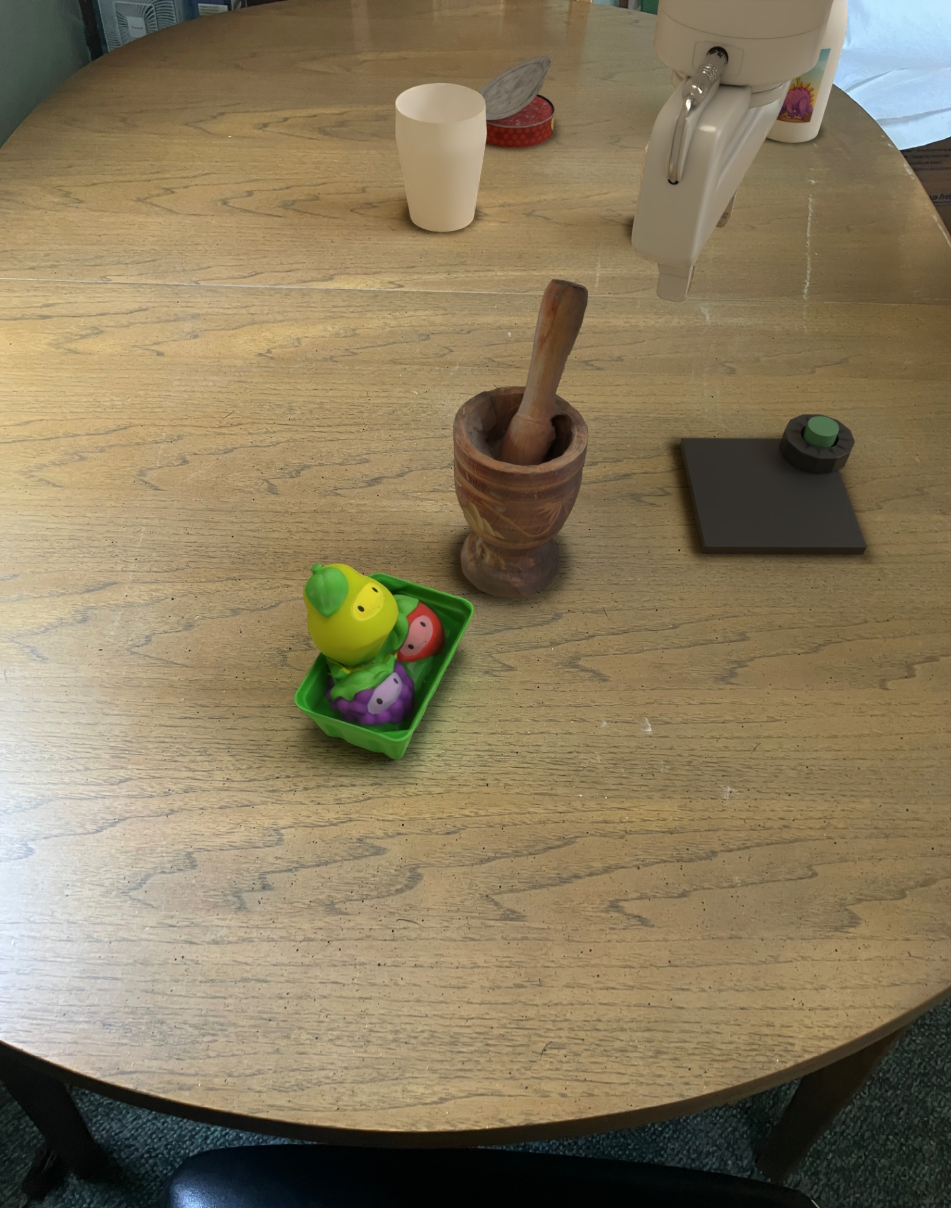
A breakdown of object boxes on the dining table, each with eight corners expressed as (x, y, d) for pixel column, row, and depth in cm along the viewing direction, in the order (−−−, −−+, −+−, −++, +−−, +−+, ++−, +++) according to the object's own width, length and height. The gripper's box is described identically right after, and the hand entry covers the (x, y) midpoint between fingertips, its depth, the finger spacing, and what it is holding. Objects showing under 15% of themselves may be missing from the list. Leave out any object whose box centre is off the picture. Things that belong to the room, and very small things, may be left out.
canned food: (530, 190, 114) (521, 133, 104) (459, 159, 116) (445, 100, 107) (577, 115, 115) (573, 51, 105) (506, 85, 117) (496, 21, 108)
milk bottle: (779, 112, 118) (827, -79, 102) (830, 135, 114) (888, -60, 99) (738, 130, 115) (782, -65, 99) (789, 154, 111) (843, -44, 95)
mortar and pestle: (462, 490, 75) (464, 259, 59) (572, 498, 74) (602, 268, 59) (447, 603, 68) (445, 374, 52) (568, 612, 67) (602, 385, 52)
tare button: (829, 429, 76) (835, 416, 75) (837, 449, 75) (842, 436, 74) (800, 428, 76) (804, 415, 75) (806, 449, 75) (811, 436, 74)
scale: (833, 442, 79) (844, 414, 77) (876, 559, 71) (890, 532, 68) (676, 441, 79) (682, 412, 77) (701, 559, 71) (709, 531, 68)
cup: (385, 210, 102) (378, 92, 92) (461, 191, 104) (461, 75, 95) (421, 251, 97) (418, 131, 87) (499, 230, 99) (504, 112, 90)
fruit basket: (409, 787, 58) (400, 684, 50) (282, 740, 60) (252, 633, 52) (477, 649, 65) (480, 536, 56) (361, 611, 67) (346, 496, 58)
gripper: (750, 109, 43) (696, 360, 54) (839, -37, 55) (780, 193, 66) (619, 85, 45) (592, 332, 56) (733, -52, 57) (692, 175, 67)
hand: (695, 256), depth 61 cm, fingers open, 8 cm apart
